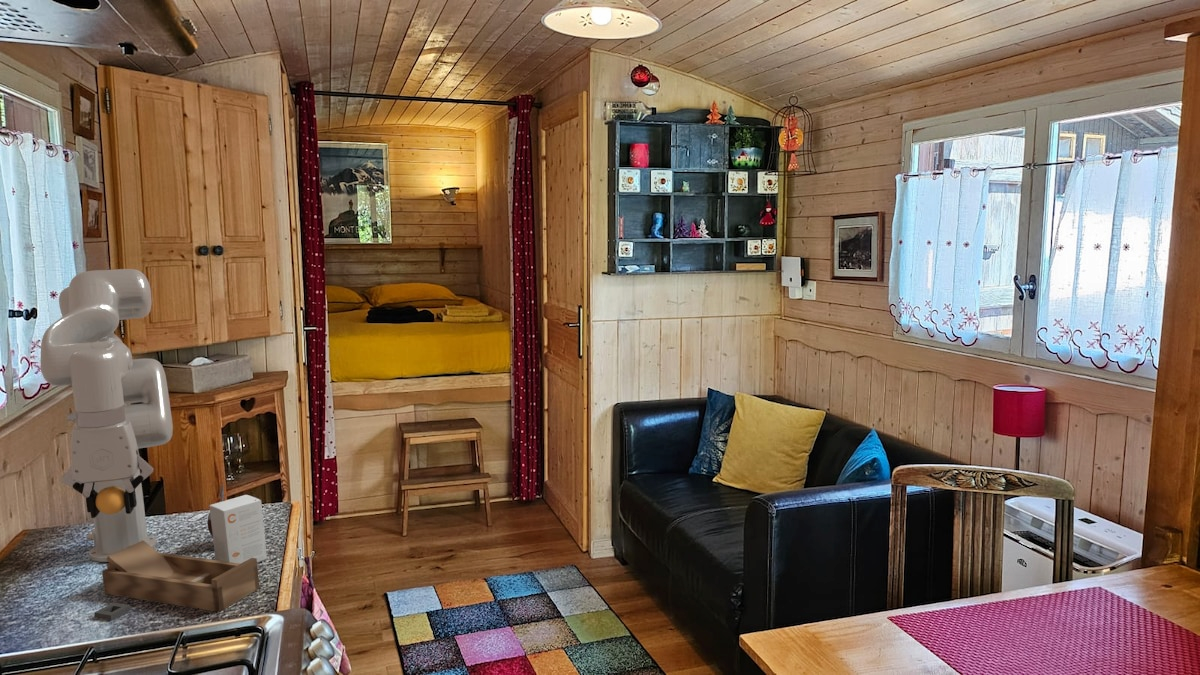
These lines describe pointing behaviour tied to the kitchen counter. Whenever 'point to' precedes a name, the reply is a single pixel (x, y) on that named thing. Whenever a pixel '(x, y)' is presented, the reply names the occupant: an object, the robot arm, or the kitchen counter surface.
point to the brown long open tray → (178, 578)
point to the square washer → (112, 611)
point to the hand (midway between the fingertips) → (112, 512)
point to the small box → (238, 529)
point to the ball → (110, 500)
